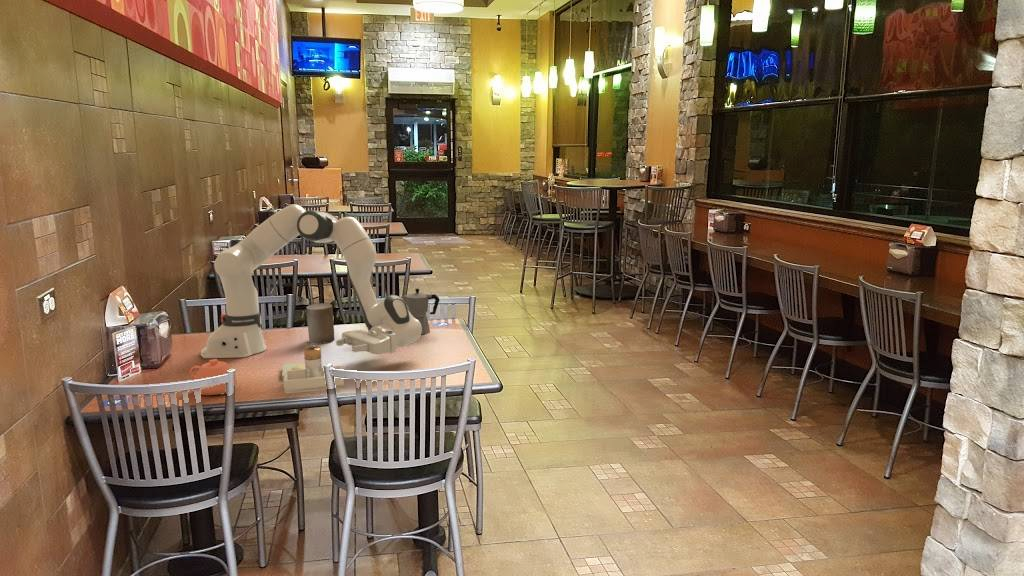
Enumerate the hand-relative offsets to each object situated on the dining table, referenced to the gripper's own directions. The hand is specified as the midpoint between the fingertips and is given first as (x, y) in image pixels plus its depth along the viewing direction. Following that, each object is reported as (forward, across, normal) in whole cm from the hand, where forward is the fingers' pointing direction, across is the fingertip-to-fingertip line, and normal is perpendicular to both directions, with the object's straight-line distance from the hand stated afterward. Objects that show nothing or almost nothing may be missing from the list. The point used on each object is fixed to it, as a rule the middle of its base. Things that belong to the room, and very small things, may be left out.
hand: (345, 346), depth 227 cm
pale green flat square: (+9, -13, +10) cm, 19 cm away
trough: (+12, +1, +10) cm, 16 cm away
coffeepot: (-51, -25, +10) cm, 58 cm away
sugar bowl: (+37, -16, +11) cm, 42 cm away
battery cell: (+12, +1, +9) cm, 15 cm away
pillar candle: (-17, -43, +10) cm, 48 cm away
